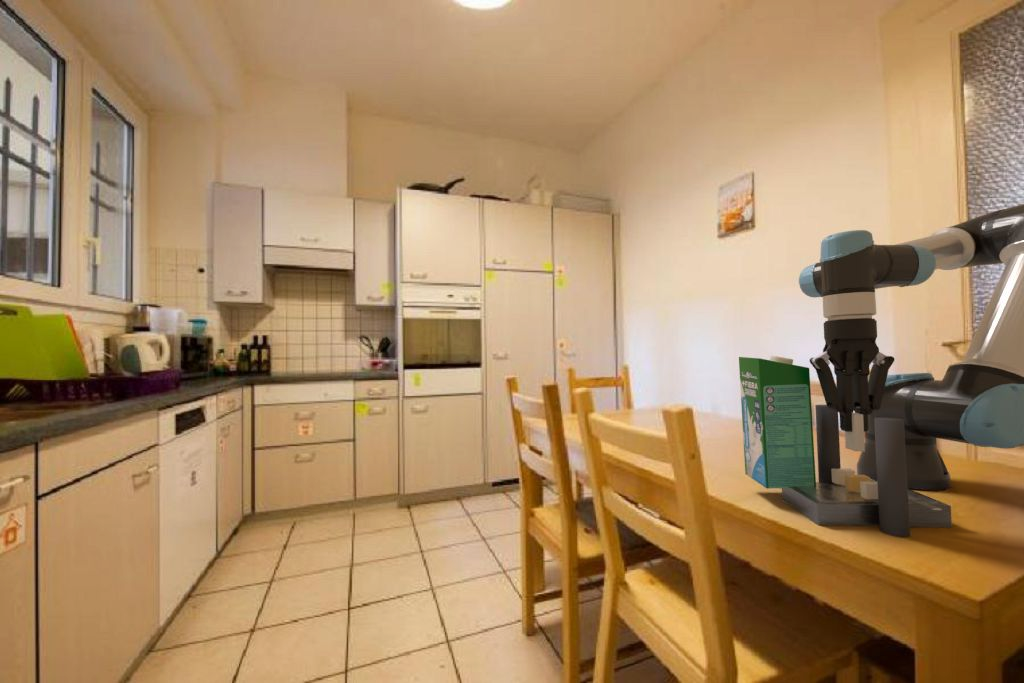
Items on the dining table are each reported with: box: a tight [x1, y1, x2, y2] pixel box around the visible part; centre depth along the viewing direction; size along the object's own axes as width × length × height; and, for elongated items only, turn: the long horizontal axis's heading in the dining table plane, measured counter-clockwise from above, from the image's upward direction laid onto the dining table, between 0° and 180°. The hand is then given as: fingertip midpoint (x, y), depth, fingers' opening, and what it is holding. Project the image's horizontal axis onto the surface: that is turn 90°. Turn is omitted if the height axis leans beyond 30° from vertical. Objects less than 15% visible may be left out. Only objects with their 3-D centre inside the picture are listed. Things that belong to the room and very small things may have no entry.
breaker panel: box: [781, 479, 953, 529], centre depth 76 cm, size 20×16×4 cm
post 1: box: [814, 404, 842, 482], centre depth 85 cm, size 4×4×18 cm
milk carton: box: [738, 355, 817, 490], centre depth 85 cm, size 9×9×25 cm
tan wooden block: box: [845, 474, 870, 491], centre depth 76 cm, size 3×1×2 cm, turn 83°
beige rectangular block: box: [860, 482, 878, 499], centre depth 72 cm, size 3×1×2 cm, turn 83°
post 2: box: [874, 417, 911, 538], centre depth 68 cm, size 4×4×18 cm
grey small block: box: [831, 468, 856, 484], centre depth 80 cm, size 3×1×2 cm, turn 83°
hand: (855, 449), depth 76 cm, fingers closed
